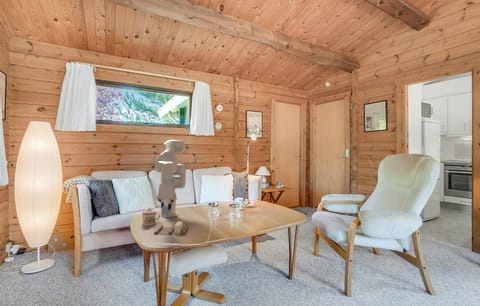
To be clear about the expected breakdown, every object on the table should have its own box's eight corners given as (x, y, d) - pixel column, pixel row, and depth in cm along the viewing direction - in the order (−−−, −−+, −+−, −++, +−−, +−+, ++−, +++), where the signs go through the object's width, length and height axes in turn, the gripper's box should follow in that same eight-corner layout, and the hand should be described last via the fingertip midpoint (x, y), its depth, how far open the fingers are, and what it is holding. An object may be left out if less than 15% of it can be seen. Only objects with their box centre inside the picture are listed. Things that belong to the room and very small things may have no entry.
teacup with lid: (143, 226, 164) (144, 210, 164) (140, 223, 172) (141, 207, 172) (161, 224, 170) (161, 208, 170) (158, 221, 178) (158, 205, 178)
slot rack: (160, 228, 161) (160, 225, 161) (188, 229, 162) (188, 225, 162) (153, 235, 147) (153, 231, 147) (184, 236, 148) (184, 232, 148)
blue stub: (165, 211, 159) (165, 204, 159) (170, 211, 159) (170, 204, 159) (161, 215, 150) (161, 207, 150) (166, 215, 150) (167, 207, 150)
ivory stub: (177, 228, 159) (177, 221, 159) (182, 228, 159) (182, 221, 159) (174, 233, 150) (174, 225, 150) (179, 233, 150) (180, 225, 150)
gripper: (181, 181, 159) (180, 208, 159) (156, 180, 158) (155, 207, 158) (178, 182, 151) (177, 211, 151) (152, 181, 151) (151, 210, 151)
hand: (166, 209), depth 155 cm, fingers closed on blue stub, 3 cm apart
